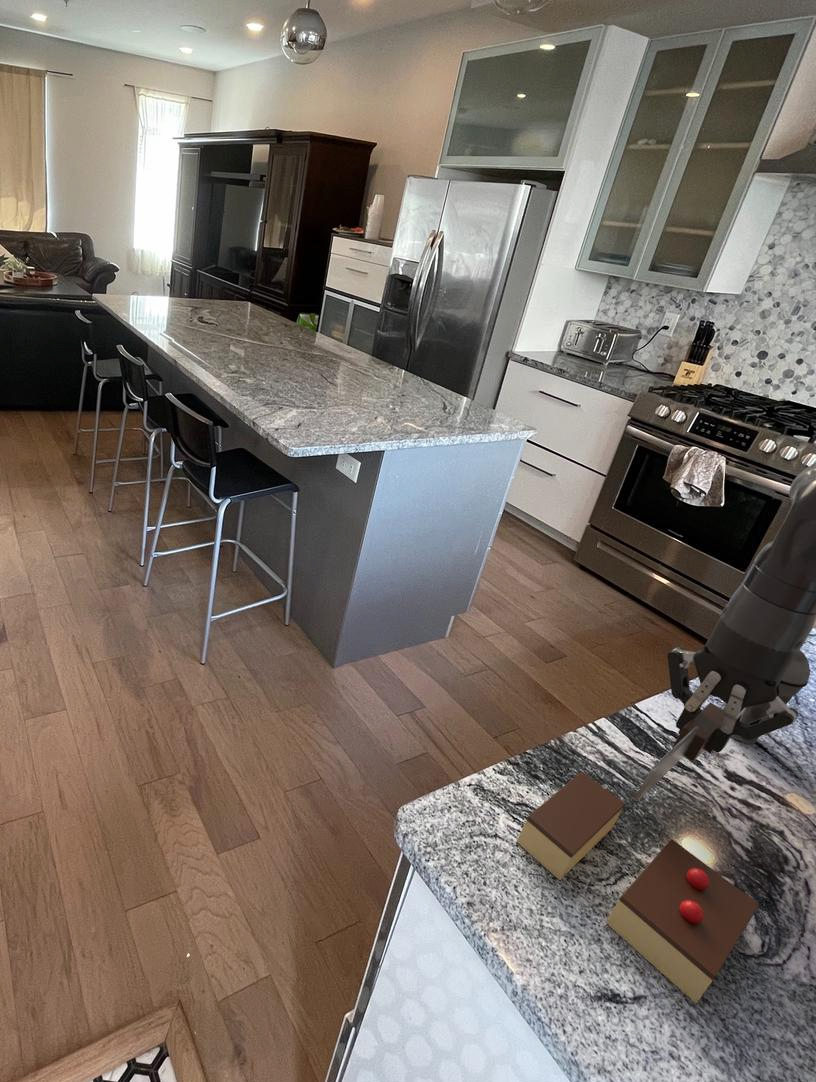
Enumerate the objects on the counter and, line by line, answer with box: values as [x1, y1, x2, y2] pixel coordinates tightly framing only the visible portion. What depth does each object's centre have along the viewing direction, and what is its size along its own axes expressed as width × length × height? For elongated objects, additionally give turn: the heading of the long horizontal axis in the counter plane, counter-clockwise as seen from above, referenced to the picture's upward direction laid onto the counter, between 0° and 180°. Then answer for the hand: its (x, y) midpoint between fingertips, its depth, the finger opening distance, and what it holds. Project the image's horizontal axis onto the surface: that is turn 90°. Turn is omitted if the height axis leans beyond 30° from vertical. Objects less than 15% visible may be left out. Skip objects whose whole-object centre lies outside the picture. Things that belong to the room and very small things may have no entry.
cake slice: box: [516, 771, 626, 881], centre depth 69 cm, size 12×5×4 cm, turn 126°
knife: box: [634, 702, 725, 802], centre depth 74 cm, size 22×2×4 cm, turn 126°
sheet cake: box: [605, 838, 760, 1004], centre depth 61 cm, size 12×8×6 cm, turn 126°
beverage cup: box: [722, 649, 811, 745], centre depth 87 cm, size 7×7×20 cm
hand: (696, 740), depth 79 cm, fingers closed on knife, 2 cm apart
